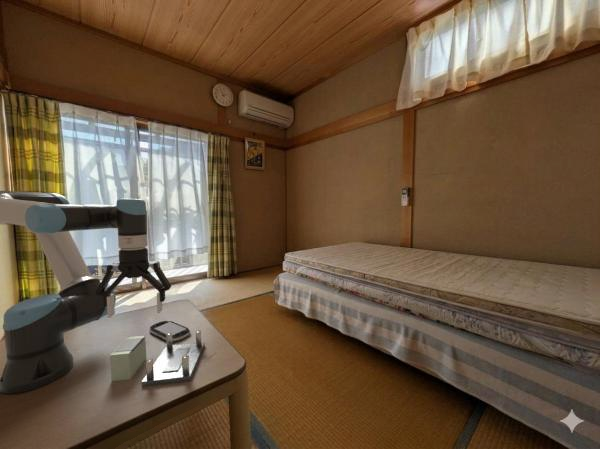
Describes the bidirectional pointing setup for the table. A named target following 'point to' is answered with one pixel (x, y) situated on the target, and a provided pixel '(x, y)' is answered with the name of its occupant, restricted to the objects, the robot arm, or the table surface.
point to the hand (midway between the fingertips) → (136, 313)
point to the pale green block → (128, 358)
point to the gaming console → (169, 330)
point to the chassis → (174, 362)
